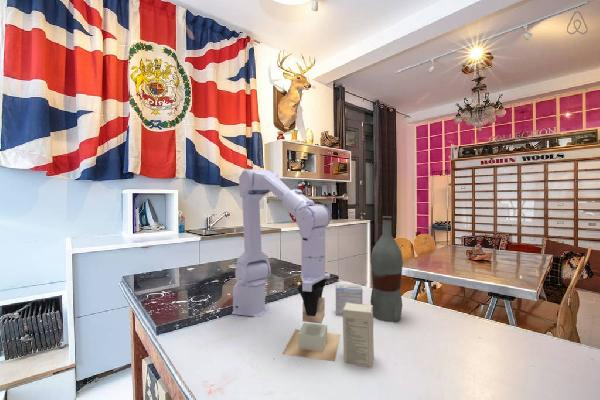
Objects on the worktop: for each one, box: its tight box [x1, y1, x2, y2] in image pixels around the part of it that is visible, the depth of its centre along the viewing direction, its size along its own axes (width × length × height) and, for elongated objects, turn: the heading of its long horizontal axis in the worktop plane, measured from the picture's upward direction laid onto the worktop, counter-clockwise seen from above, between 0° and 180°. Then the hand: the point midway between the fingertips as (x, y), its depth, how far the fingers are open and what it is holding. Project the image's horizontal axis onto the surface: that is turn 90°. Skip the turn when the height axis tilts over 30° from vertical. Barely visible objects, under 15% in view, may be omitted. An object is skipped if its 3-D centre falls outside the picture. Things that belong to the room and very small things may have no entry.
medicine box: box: [335, 283, 364, 317], centre depth 88 cm, size 8×4×9 cm, turn 84°
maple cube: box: [302, 297, 326, 325], centre depth 71 cm, size 4×4×4 cm
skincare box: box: [342, 303, 375, 368], centre depth 64 cm, size 6×4×12 cm
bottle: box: [370, 215, 404, 323], centre depth 86 cm, size 9×9×30 cm
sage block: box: [298, 322, 328, 352], centre depth 71 cm, size 6×6×4 cm
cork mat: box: [282, 328, 341, 362], centre depth 71 cm, size 12×12×1 cm
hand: (313, 310), depth 71 cm, fingers closed on maple cube, 4 cm apart
